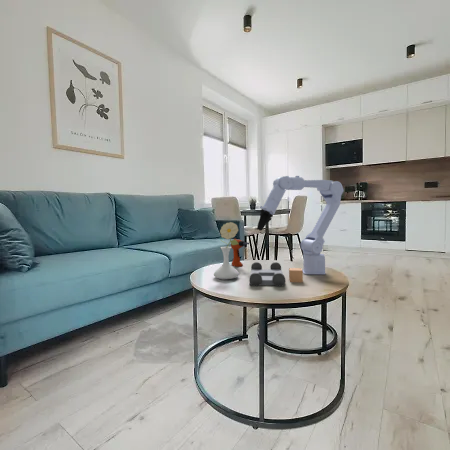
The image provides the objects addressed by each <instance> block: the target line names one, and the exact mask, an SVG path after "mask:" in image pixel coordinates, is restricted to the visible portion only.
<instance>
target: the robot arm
mask: <svg viewBox="0 0 450 450" xmlns="http://www.w3.org/2000/svg"><path fill="white" fill-rule="evenodd" d="M272 184H273V185H272V189H271V190H270V193H269V195H268V197H267V198H266V201H265V203H264V204H263V206H262V205H260V206H259V208H260V214H259V219H258V223H257V227H256V230H259V231H263V229H264V228H265V227H266V225H267V224H268V223H269V222H270V221H271V220H272V219H273V218H272V217H274V215H275V214H276V211H277V209H278V207H279V205H280V203H281V201H282V198H283V197H284V195H285V193H286V191H287V190H288V191H302V190H304V188H311V189H313V188H314V189H315V188H316V189H317V191H318V192H319V194H320V195H321V196H322V198H323V200H324V201H325V202H326V205H324V206H325V207H324V209H323V211H322V212H321V214H320V216H319V217H318V219H317V221H316V223H315V225H314V227H313V229H312V231H311V232H310V233H308V234H307V235H306V236H305V237H304V239H302V240H301V242H300V249H301V251H302V254H303V256H302V257H303V260H302V261H303V269H302V270H303V275H326V258H325V257H326V256H325V254H324V253H322V251H323V249H324V248H323V247H324V244H325V239H324V236H325V234H326V232H327V230H328V228H329V226H330V225H331V222H332V220H333V219H334V217H335V215H336V213H337V211H338V209H339V208H340V205H341V199H342V195H343V193H344V192H345V191H344V187H343V185H342V183H341V182H340V181H338V180H335V181H334V180H330V179H329V180H328V179H307V180H305V179H304V178H303V177H300V175H296V176H289V175H285V176H283V175H282V176H281V177H279V176H278V177H277V178H276V179H275V180H273V183H272Z"/></svg>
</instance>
